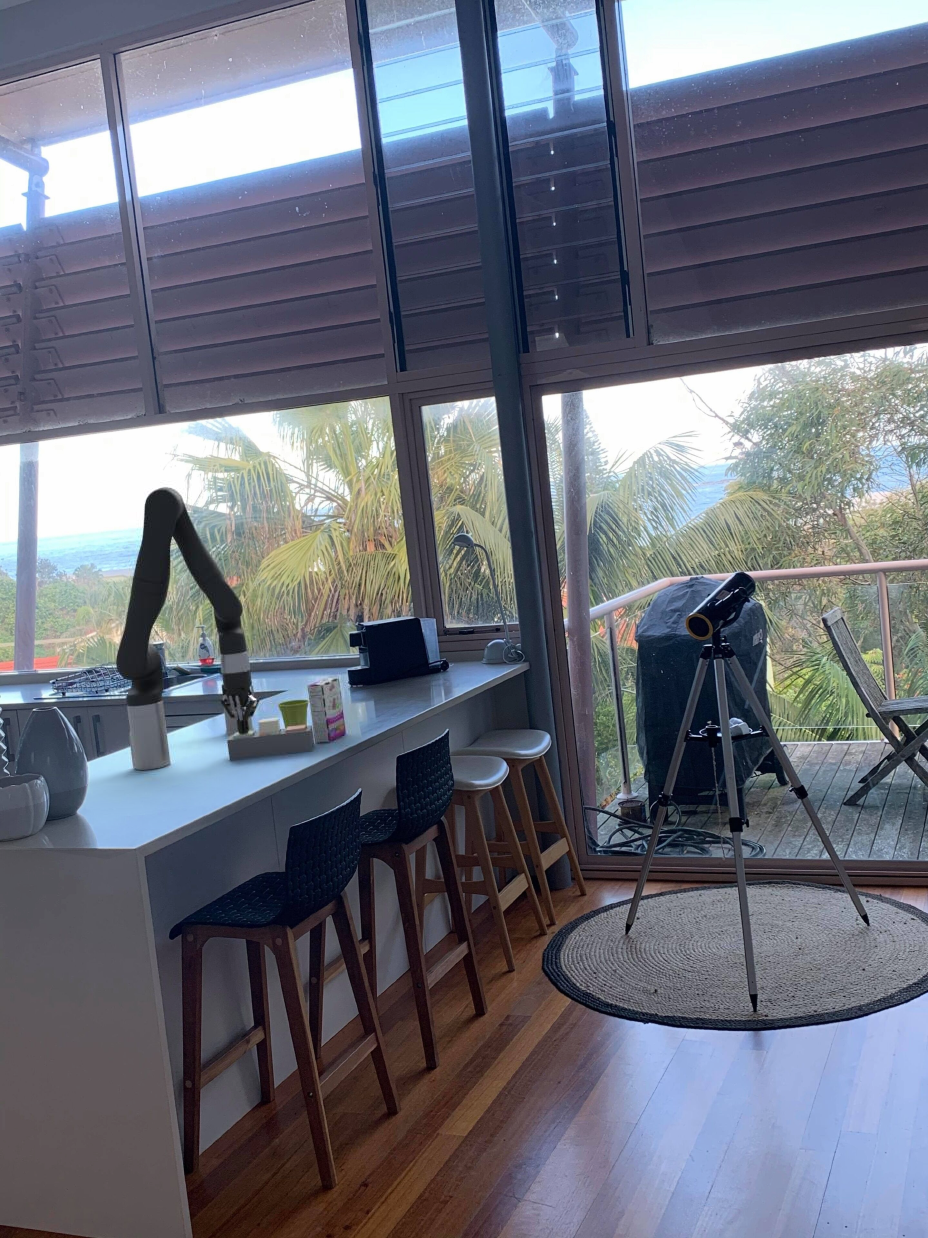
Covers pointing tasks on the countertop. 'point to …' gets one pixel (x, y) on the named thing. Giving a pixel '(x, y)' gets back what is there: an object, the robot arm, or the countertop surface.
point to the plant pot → (294, 712)
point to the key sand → (269, 726)
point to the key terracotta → (296, 728)
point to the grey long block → (270, 744)
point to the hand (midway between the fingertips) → (243, 733)
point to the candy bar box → (326, 710)
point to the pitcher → (231, 722)
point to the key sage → (243, 735)
